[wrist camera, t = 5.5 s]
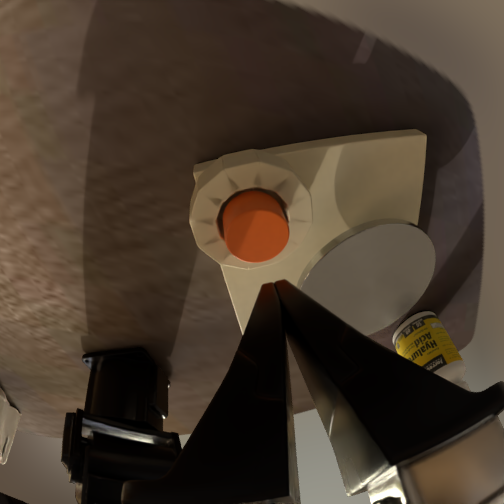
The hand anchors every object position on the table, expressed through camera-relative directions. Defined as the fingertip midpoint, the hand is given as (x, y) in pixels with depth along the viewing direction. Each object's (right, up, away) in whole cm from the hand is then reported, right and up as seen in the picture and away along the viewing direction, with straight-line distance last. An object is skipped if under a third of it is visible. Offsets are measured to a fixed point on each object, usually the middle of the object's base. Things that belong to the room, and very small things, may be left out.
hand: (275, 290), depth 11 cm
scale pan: (+6, -1, +8) cm, 10 cm away
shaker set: (-36, -19, +18) cm, 44 cm away
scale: (+4, +2, +9) cm, 10 cm away
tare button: (-1, +3, +4) cm, 5 cm away
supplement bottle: (+16, -6, +18) cm, 24 cm away
